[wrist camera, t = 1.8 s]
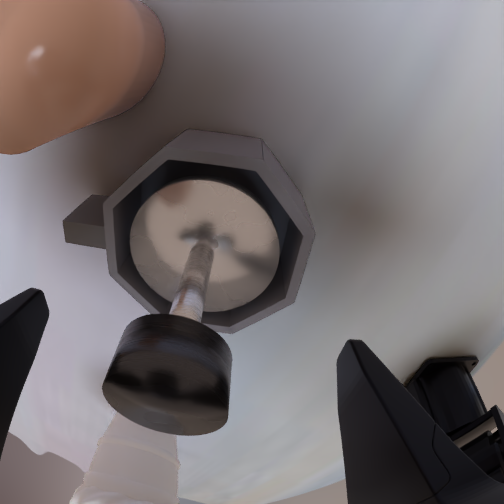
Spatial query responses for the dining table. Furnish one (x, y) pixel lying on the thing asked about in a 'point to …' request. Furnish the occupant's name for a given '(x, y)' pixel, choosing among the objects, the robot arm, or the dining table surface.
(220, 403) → the plunger
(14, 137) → the peach rounded capsule
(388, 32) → the dining table surface
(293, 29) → the dining table surface
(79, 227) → the gray octagonal container
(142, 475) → the soft serve ice cream cone
